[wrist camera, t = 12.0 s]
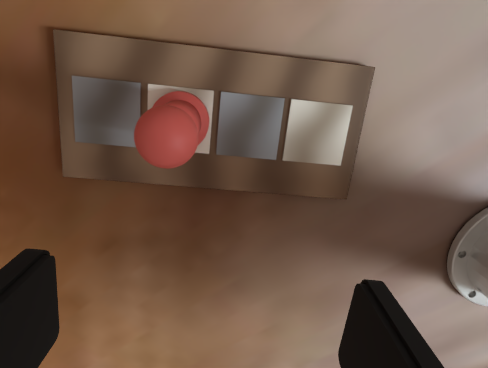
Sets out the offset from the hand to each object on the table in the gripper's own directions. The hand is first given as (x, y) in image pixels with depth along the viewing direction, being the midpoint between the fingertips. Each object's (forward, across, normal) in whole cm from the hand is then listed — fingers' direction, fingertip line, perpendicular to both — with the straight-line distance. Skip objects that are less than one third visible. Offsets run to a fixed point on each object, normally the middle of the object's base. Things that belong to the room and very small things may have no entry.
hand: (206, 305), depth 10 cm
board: (+22, +1, -3) cm, 22 cm away
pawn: (+20, +4, -3) cm, 21 cm away
